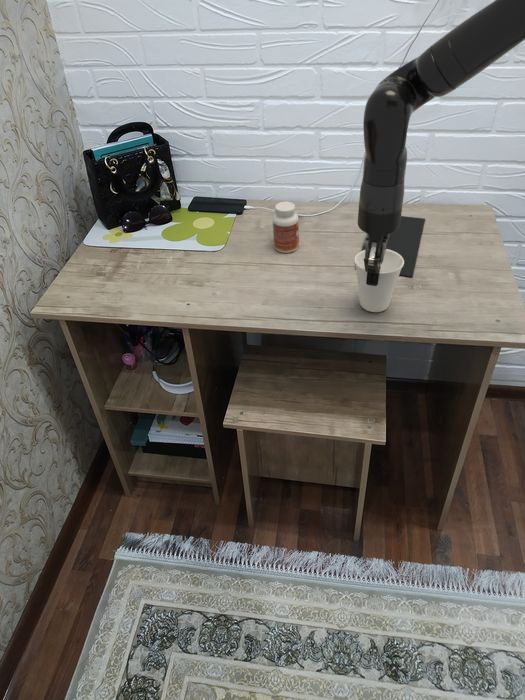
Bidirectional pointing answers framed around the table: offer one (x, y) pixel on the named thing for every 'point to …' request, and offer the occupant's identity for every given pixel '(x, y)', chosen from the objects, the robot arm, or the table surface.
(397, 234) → the mat
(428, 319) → the table surface
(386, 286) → the cup
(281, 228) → the pill bottle
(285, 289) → the table surface
